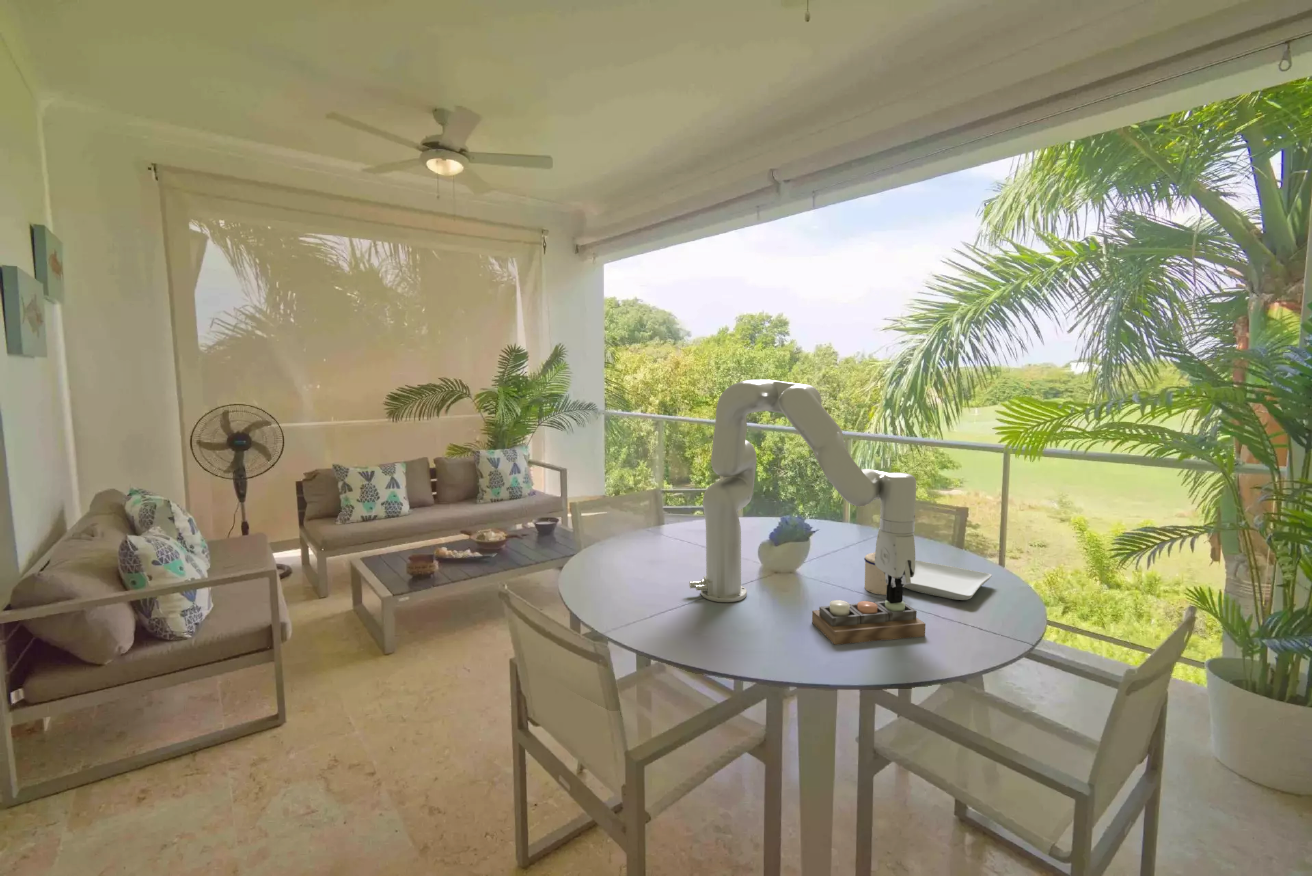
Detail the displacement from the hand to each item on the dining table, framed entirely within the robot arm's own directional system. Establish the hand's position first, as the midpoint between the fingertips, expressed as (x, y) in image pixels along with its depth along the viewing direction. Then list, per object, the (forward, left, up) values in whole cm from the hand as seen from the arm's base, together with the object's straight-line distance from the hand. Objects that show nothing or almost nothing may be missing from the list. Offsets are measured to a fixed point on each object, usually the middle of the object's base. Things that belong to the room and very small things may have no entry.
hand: (894, 601), depth 139 cm
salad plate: (+27, +21, -7) cm, 35 cm away
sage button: (0, 0, -3) cm, 3 cm away
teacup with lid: (+10, +24, -6) cm, 27 cm away
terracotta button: (-7, 0, -3) cm, 7 cm away
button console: (-7, 0, -6) cm, 9 cm away
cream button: (-14, 0, -2) cm, 14 cm away
